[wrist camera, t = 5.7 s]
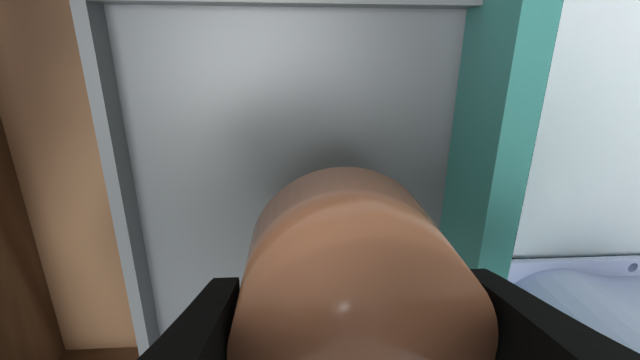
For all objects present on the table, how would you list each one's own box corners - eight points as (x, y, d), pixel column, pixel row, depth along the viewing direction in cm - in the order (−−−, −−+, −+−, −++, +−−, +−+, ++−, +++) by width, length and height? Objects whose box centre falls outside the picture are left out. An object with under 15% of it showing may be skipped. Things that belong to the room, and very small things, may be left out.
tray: (489, -3, 14) (568, -24, 10) (442, 330, 20) (482, 405, 16) (97, -9, 13) (10, -35, 9) (158, 343, 19) (120, 427, 15)
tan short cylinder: (445, 171, 10) (529, 243, 7) (415, 325, 12) (467, 450, 9) (250, 161, 10) (224, 232, 6) (250, 323, 12) (229, 453, 8)
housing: (353, -40, 14) (376, -73, 10) (341, 346, 20) (353, 413, 17) (-67, -49, 13) (-210, -89, 9) (54, 360, 19) (-4, 435, 16)
